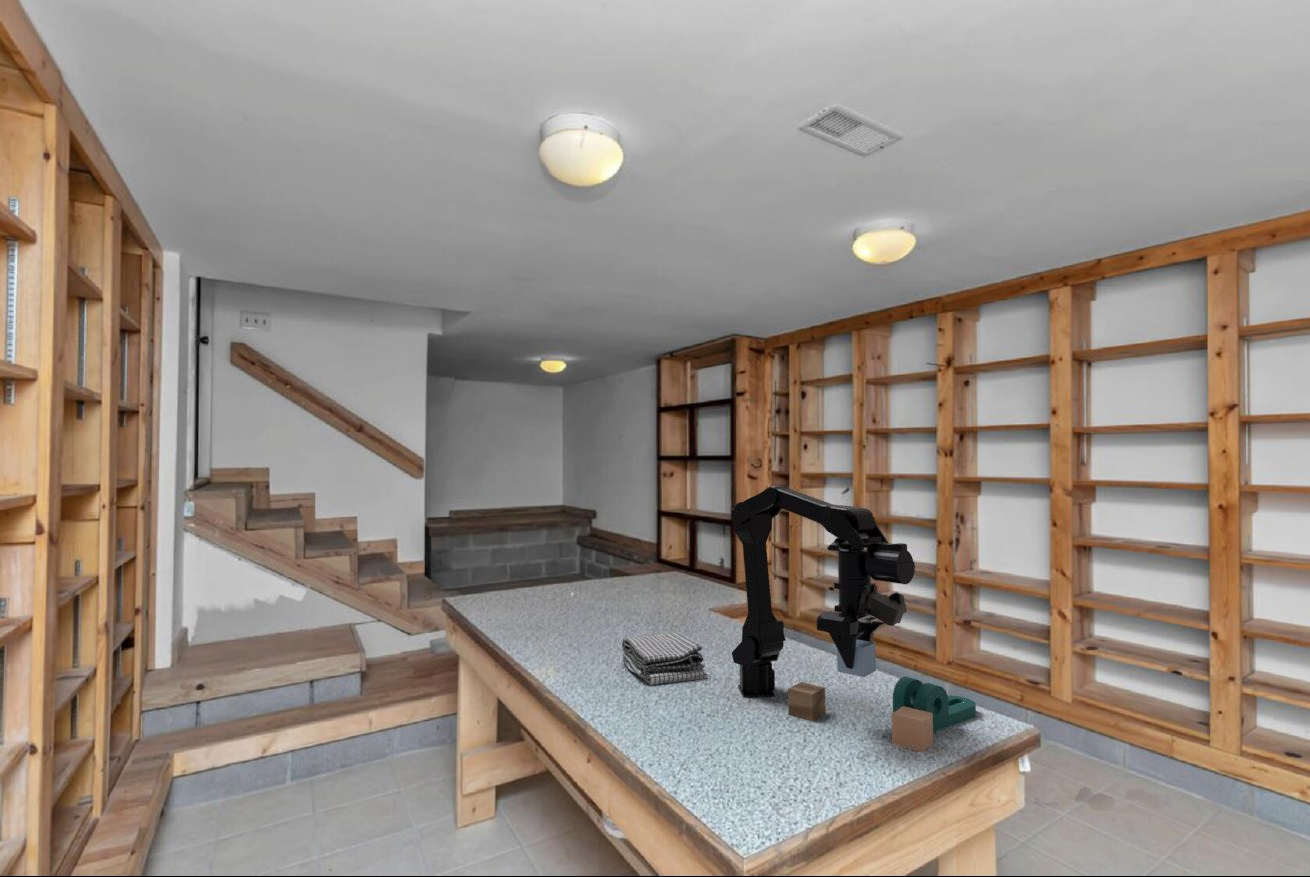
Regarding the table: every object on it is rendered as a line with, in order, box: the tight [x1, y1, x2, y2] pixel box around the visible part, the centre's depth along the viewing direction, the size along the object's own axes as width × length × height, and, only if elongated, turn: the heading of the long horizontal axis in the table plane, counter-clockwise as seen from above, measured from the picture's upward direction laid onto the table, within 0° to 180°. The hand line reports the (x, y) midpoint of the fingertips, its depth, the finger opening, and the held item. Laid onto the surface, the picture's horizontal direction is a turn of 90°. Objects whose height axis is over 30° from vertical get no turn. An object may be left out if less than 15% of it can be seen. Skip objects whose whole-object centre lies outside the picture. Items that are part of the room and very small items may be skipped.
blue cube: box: [836, 640, 877, 678], centre depth 115 cm, size 5×5×5 cm
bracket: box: [892, 675, 977, 733], centre depth 120 cm, size 18×7×8 cm, turn 124°
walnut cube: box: [787, 681, 826, 722], centre depth 122 cm, size 5×5×5 cm
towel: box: [621, 631, 708, 686], centre depth 149 cm, size 15×18×8 cm
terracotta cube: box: [891, 706, 934, 753], centre depth 108 cm, size 5×5×5 cm
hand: (856, 665), depth 115 cm, fingers closed on blue cube, 5 cm apart
